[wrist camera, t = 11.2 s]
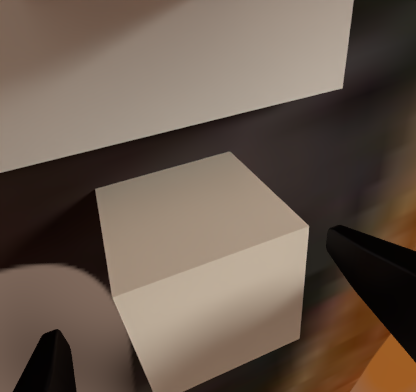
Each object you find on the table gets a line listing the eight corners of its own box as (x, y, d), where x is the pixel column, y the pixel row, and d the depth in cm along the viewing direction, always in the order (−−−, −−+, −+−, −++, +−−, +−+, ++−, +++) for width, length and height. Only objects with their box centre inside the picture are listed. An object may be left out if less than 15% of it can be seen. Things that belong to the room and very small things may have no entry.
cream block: (228, 150, 12) (309, 226, 8) (236, 247, 15) (299, 338, 11) (94, 187, 11) (112, 297, 7) (131, 285, 14) (158, 402, 10)
